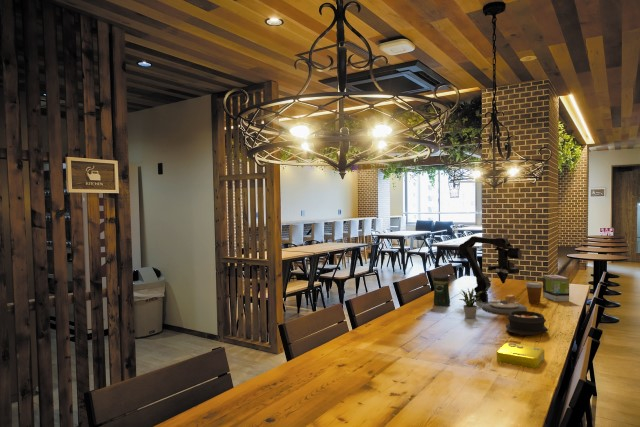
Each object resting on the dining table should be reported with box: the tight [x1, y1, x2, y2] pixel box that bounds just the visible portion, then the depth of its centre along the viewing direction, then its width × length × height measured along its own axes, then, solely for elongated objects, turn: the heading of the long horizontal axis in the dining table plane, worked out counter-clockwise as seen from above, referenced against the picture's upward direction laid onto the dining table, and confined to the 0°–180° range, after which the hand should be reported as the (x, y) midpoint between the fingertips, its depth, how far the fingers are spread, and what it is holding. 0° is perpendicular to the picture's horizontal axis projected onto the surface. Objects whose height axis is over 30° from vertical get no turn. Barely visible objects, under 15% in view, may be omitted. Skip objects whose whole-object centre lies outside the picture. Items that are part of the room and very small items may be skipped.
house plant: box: [458, 288, 483, 319], centre depth 239 cm, size 14×14×16 cm
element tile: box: [496, 342, 545, 370], centre depth 173 cm, size 15×15×5 cm
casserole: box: [505, 310, 549, 336], centre depth 211 cm, size 25×19×8 cm
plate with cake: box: [489, 294, 520, 309], centre depth 257 cm, size 19×16×5 cm
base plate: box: [481, 301, 528, 316], centre depth 256 cm, size 24×24×2 cm
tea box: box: [542, 274, 570, 302], centre depth 282 cm, size 15×10×15 cm
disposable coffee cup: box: [525, 281, 543, 304], centre depth 274 cm, size 10×10×12 cm
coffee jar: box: [432, 274, 451, 307], centre depth 272 cm, size 10×8×19 cm
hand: (503, 283), depth 269 cm, fingers closed
